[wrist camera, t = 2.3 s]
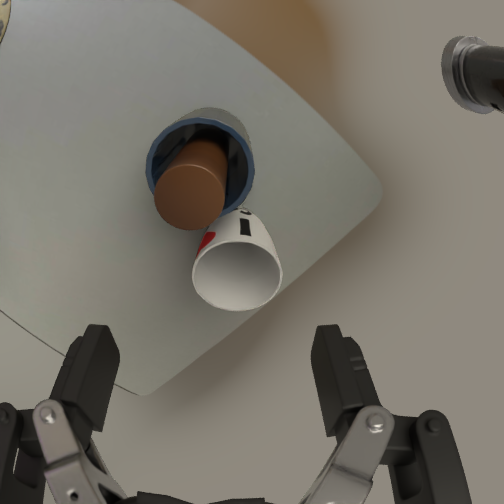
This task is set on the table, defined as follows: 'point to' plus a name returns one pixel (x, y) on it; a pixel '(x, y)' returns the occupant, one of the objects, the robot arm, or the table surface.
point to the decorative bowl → (4, 16)
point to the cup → (237, 263)
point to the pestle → (195, 182)
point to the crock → (179, 134)
